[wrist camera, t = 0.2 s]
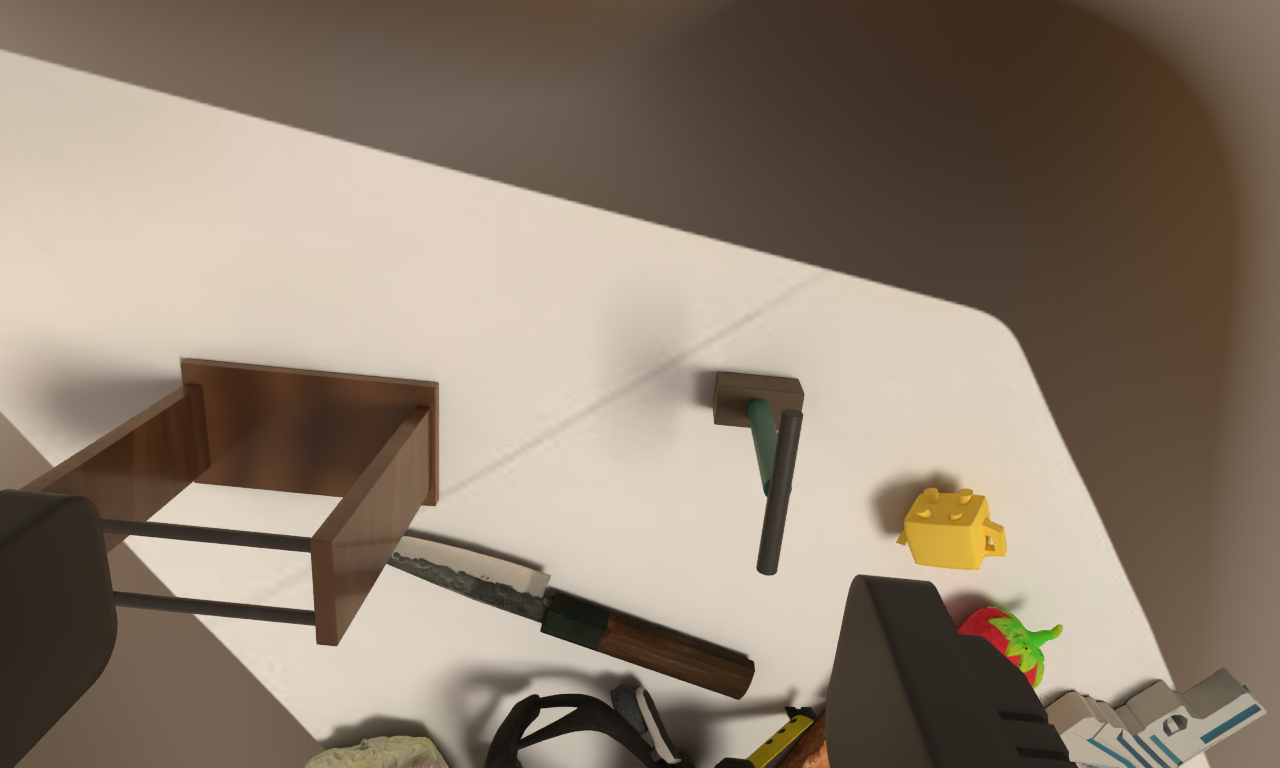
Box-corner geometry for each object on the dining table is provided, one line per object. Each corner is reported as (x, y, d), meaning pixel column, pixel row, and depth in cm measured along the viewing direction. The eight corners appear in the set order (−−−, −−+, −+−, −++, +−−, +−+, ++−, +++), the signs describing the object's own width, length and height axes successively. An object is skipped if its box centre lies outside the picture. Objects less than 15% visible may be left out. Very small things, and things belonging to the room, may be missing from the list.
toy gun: (1045, 744, 68) (1117, 811, 70) (1202, 641, 64) (1274, 716, 66) (1030, 717, 71) (1100, 783, 73) (1180, 616, 67) (1249, 689, 69)
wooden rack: (200, 477, 66) (12, 637, 47) (187, 358, 63) (-23, 480, 44) (438, 500, 66) (343, 670, 47) (439, 382, 62) (336, 515, 44)
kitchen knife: (764, 658, 67) (739, 704, 69) (761, 641, 69) (737, 686, 71) (337, 509, 64) (322, 561, 66) (347, 496, 66) (333, 546, 68)
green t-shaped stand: (707, 451, 63) (715, 570, 48) (722, 325, 60) (737, 411, 45) (785, 458, 63) (819, 580, 48) (806, 333, 60) (849, 422, 45)
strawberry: (975, 738, 65) (1099, 685, 62) (926, 670, 63) (1052, 612, 60) (957, 687, 70) (1071, 636, 67) (911, 623, 68) (1026, 568, 66)
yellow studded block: (901, 474, 66) (914, 530, 67) (876, 514, 61) (890, 572, 63) (1009, 477, 61) (1020, 538, 62) (989, 521, 56) (1001, 584, 58)
